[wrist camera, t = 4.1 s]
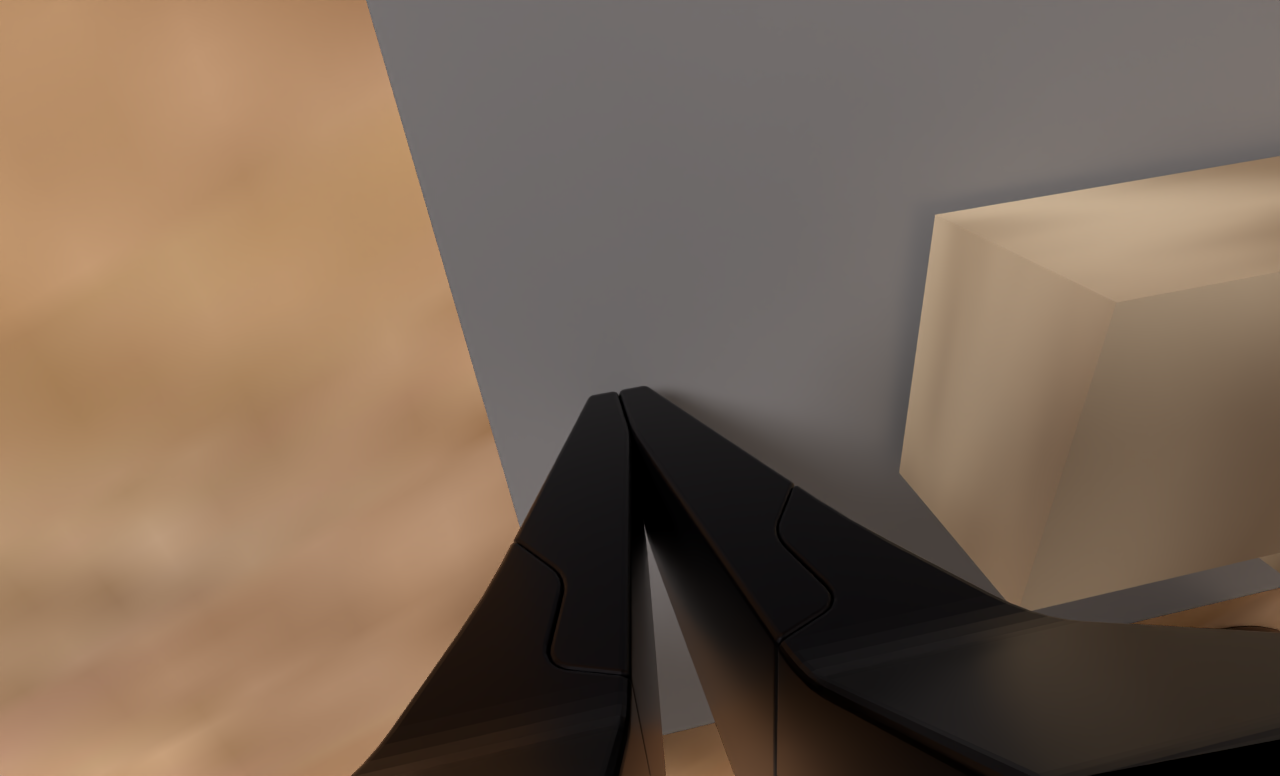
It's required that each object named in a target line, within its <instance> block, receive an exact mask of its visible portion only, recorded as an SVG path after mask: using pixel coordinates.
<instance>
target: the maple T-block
mask: <svg viewBox="0 0 1280 776" xmlns="http://www.w3.org/2000/svg"><path fill="white" fill-rule="evenodd" d="M899 473H900V474H901V476H902V477H903V478H904V479H905V480H906V482H907V483H908V484H909V485H910V486H911V488H912V489H913V490H914V491H915V492H916V494H917V495H918V496H919V497H920V498H921V500H922V501H923V502H924V503H925V504H926V505H927V507H928V508H929V509H930V510H931V511H932V513H933V514H934V515H935V516H936V517H937V519H938V520H939V521H940V522H941V523H942V525H943V526H944V527H945V528H946V529H947V531H948V532H949V533H950V534H951V535H952V537H953V538H954V539H955V540H956V541H957V543H958V544H959V545H960V546H961V547H962V548H963V550H964V551H965V552H966V553H967V554H968V556H969V557H970V558H971V559H972V560H973V562H974V563H975V564H976V565H977V566H978V568H979V569H980V570H981V571H982V572H983V574H984V575H985V576H986V577H987V578H988V580H989V581H990V582H991V583H992V584H993V586H994V587H995V588H996V589H997V590H998V592H999V593H1000V594H1001V595H1002V596H1003V597H1004V599H1005V600H1006V601H1008V602H1010V603H1012V604H1015V605H1018V606H1020V607H1023V608H1025V609H1028V610H1031V611H1033V610H1037V609H1041V608H1046V607H1050V606H1054V605H1059V604H1063V603H1067V602H1071V601H1076V600H1080V599H1084V598H1089V597H1093V596H1097V595H1101V594H1106V593H1110V592H1114V591H1118V590H1123V589H1127V588H1131V587H1136V586H1140V585H1144V584H1148V583H1153V582H1157V581H1161V580H1166V579H1170V578H1174V577H1178V576H1183V575H1187V574H1191V573H1196V572H1200V571H1204V570H1208V569H1213V568H1217V567H1221V566H1226V565H1230V564H1234V563H1238V562H1243V561H1247V560H1251V559H1255V558H1260V559H1261V560H1263V561H1264V562H1265V563H1267V564H1268V565H1269V566H1271V567H1272V568H1273V569H1275V570H1276V571H1278V572H1279V573H1280V156H1277V157H1271V158H1265V159H1259V160H1253V161H1248V162H1242V163H1236V164H1230V165H1224V166H1218V167H1212V168H1206V169H1201V170H1195V171H1189V172H1183V173H1177V174H1171V175H1165V176H1160V177H1154V178H1148V179H1142V180H1136V181H1130V182H1124V183H1119V184H1113V185H1107V186H1101V187H1095V188H1089V189H1083V190H1077V191H1072V192H1066V193H1060V194H1054V195H1048V196H1042V197H1036V198H1031V199H1025V200H1019V201H1013V202H1007V203H1001V204H995V205H989V206H984V207H978V208H972V209H966V210H960V211H954V212H948V213H943V214H937V215H935V219H934V227H933V234H932V241H931V248H930V255H929V262H928V269H927V277H926V284H925V291H924V298H923V305H922V312H921V320H920V327H919V334H918V341H917V348H916V355H915V362H914V370H913V377H912V384H911V391H910V398H909V405H908V413H907V420H906V427H905V434H904V441H903V448H902V456H901V463H900V470H899Z"/></svg>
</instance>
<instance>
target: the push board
mask: <svg viewBox="0 0 1280 776" xmlns="http://www.w3.org/2000/svg"><path fill="white" fill-rule="evenodd" d="M366 1H367V5H368V8H369V11H370V15H371V18H372V22H373V25H374V29H375V32H376V35H377V39H378V42H379V46H380V49H381V53H382V56H383V59H384V63H385V66H386V70H387V73H388V77H389V80H390V83H391V87H392V90H393V94H394V97H395V101H396V104H397V107H398V111H399V114H400V118H401V121H402V124H403V128H404V131H405V135H406V138H407V142H408V145H409V148H410V152H411V155H412V159H413V162H414V166H415V169H416V172H417V176H418V179H419V183H420V186H421V190H422V193H423V196H424V200H425V203H426V207H427V210H428V214H429V217H430V220H431V224H432V227H433V231H434V234H435V238H436V241H437V244H438V248H439V251H440V255H441V258H442V261H443V265H444V268H445V272H446V275H447V279H448V282H449V285H450V289H451V292H452V296H453V299H454V303H455V306H456V309H457V313H458V316H459V320H460V323H461V327H462V330H463V333H464V337H465V340H466V344H467V347H468V351H469V354H470V357H471V361H472V364H473V368H474V371H475V375H476V378H477V381H478V385H479V388H480V392H481V395H482V398H483V402H484V405H485V409H486V412H487V416H488V419H489V422H490V426H491V429H492V433H493V436H494V440H495V443H496V446H497V450H498V453H499V457H500V460H501V464H502V467H503V470H504V474H505V477H506V481H507V484H508V488H509V491H510V494H511V498H512V501H513V505H514V508H515V512H516V515H517V518H518V522H519V525H520V527H521V526H522V524H523V522H524V520H525V518H526V516H527V514H528V512H529V510H530V508H531V507H532V505H533V503H534V501H535V499H536V497H537V495H538V493H539V491H540V489H541V487H542V486H543V484H544V482H545V480H546V478H547V476H548V474H549V472H550V470H551V468H552V466H553V465H554V463H555V461H556V459H557V457H558V455H559V453H560V451H561V449H562V447H563V445H564V444H565V442H566V440H567V438H568V436H569V434H570V432H571V430H572V428H573V426H574V425H575V423H576V421H577V419H578V417H579V415H580V413H581V411H582V409H583V407H584V405H585V404H586V402H587V400H588V398H589V397H590V396H592V395H596V394H601V393H607V392H612V391H614V392H617V393H618V395H619V393H620V391H621V390H623V389H628V388H634V387H639V386H648V387H650V388H651V389H653V390H654V391H656V392H657V393H659V394H660V395H662V396H663V397H665V398H666V399H668V400H669V401H671V402H672V403H674V404H675V405H677V406H678V407H680V408H681V409H683V410H684V411H686V412H687V413H689V414H690V415H692V416H693V417H695V418H696V419H698V420H699V421H701V422H702V423H704V424H706V425H707V426H709V427H710V428H712V429H713V430H715V431H716V432H718V433H719V434H721V435H722V436H724V437H725V438H727V439H728V440H730V441H731V442H733V443H734V444H736V445H737V446H739V447H740V448H742V449H743V450H745V451H746V452H748V453H749V454H751V455H752V456H754V457H755V458H757V459H758V460H760V461H761V462H763V463H764V464H766V465H767V466H769V467H770V468H772V469H773V470H775V471H776V472H778V473H779V474H781V475H783V476H784V477H786V478H787V479H789V480H790V481H792V482H793V483H794V485H795V486H800V487H801V488H803V489H804V490H806V491H807V492H809V493H810V494H812V495H813V496H815V497H816V498H818V499H819V500H821V501H822V502H824V503H826V504H827V505H829V506H831V507H832V508H834V509H835V510H837V511H839V512H840V513H842V514H843V515H845V516H847V517H848V518H850V519H852V520H853V521H855V522H857V523H859V524H861V525H862V526H864V527H866V528H868V529H870V530H871V531H873V532H875V533H877V534H879V535H881V536H882V537H884V538H886V539H888V540H890V541H891V542H893V543H895V544H897V545H899V546H901V547H903V548H905V549H907V550H909V551H911V552H913V553H914V554H916V555H918V556H920V557H922V558H924V559H926V560H928V561H930V562H932V563H934V564H935V565H937V566H939V567H941V568H943V569H945V570H947V571H949V572H951V573H953V574H955V575H957V576H958V577H960V578H962V579H964V580H966V581H968V582H970V583H972V584H974V585H976V586H978V587H980V588H981V589H983V590H985V591H987V592H989V593H991V594H993V595H995V596H997V597H999V598H1002V599H1004V597H1003V596H1002V595H1001V594H1000V593H999V592H998V590H997V589H996V588H995V587H994V586H993V584H992V583H991V582H990V581H989V580H988V578H987V577H986V576H985V575H984V574H983V572H982V571H981V570H980V569H979V568H978V566H977V565H976V564H975V563H974V562H973V560H972V559H971V558H970V557H969V556H968V554H967V553H966V552H965V551H964V550H963V548H962V547H961V546H960V545H959V544H958V543H957V541H956V540H955V539H954V538H953V537H952V535H951V534H950V533H949V532H948V531H947V529H946V528H945V527H944V526H943V525H942V523H941V522H940V521H939V520H938V519H937V517H936V516H935V515H934V514H933V513H932V511H931V510H930V509H929V508H928V507H927V505H926V504H925V503H924V502H923V501H922V500H921V498H920V497H919V496H918V495H917V494H916V492H915V491H914V490H913V489H912V488H911V486H910V485H909V484H908V483H907V482H906V480H905V479H904V478H903V477H902V476H901V474H900V473H899V470H900V463H901V456H902V448H903V441H904V434H905V427H906V420H907V413H908V405H909V398H910V391H911V384H912V377H913V370H914V362H915V355H916V348H917V341H918V334H919V327H920V320H921V312H922V305H923V298H924V291H925V284H926V277H927V269H928V262H929V255H930V248H931V241H932V234H933V227H934V219H935V215H937V214H943V213H948V212H954V211H960V210H966V209H972V208H978V207H984V206H989V205H995V204H1001V203H1007V202H1013V201H1019V200H1025V199H1031V198H1036V197H1042V196H1048V195H1054V194H1060V193H1066V192H1072V191H1077V190H1083V189H1089V188H1095V187H1101V186H1107V185H1113V184H1119V183H1124V182H1130V181H1136V180H1142V179H1148V178H1154V177H1160V176H1165V175H1171V174H1177V173H1183V172H1189V171H1195V170H1201V169H1206V168H1212V167H1218V166H1224V165H1230V164H1236V163H1242V162H1248V161H1253V160H1259V159H1265V158H1271V157H1277V156H1280V0H366ZM644 528H645V527H644ZM645 535H646V531H645ZM646 542H647V551H648V562H649V575H650V587H651V599H652V612H653V624H654V636H655V649H656V661H657V674H658V686H659V698H660V711H661V723H662V735H666V734H670V733H674V732H678V731H682V730H687V729H691V728H695V727H699V726H703V725H708V724H712V723H715V721H714V718H713V715H712V713H711V710H710V707H709V705H708V702H707V699H706V696H705V694H704V691H703V688H702V686H701V683H700V680H699V678H698V675H697V672H696V669H695V667H694V664H693V661H692V659H691V656H690V653H689V650H688V648H687V645H686V642H685V640H684V637H683V634H682V632H681V629H680V626H679V623H678V621H677V618H676V615H675V613H674V610H673V607H672V605H671V602H670V599H669V596H668V594H667V591H666V588H665V586H664V583H663V580H662V578H661V575H660V572H659V569H658V567H657V564H656V561H655V559H654V556H653V553H652V550H651V547H650V544H649V541H648V538H647V535H646ZM1276 588H1280V573H1279V572H1278V571H1276V570H1275V569H1273V568H1272V567H1271V566H1269V565H1268V564H1267V563H1265V562H1264V561H1263V560H1261V559H1260V558H1255V559H1251V560H1247V561H1243V562H1238V563H1234V564H1230V565H1226V566H1221V567H1217V568H1213V569H1208V570H1204V571H1200V572H1196V573H1191V574H1187V575H1183V576H1178V577H1174V578H1170V579H1166V580H1161V581H1157V582H1153V583H1148V584H1144V585H1140V586H1136V587H1131V588H1127V589H1123V590H1118V591H1114V592H1110V593H1106V594H1101V595H1097V596H1093V597H1089V598H1084V599H1080V600H1076V601H1071V602H1067V603H1063V604H1059V605H1054V606H1050V607H1046V608H1041V609H1037V610H1033V611H1034V612H1037V613H1041V614H1044V615H1048V616H1052V617H1058V618H1063V619H1069V620H1078V621H1091V622H1107V623H1124V624H1130V623H1134V622H1138V621H1143V620H1147V619H1151V618H1155V617H1159V616H1163V615H1168V614H1172V613H1176V612H1180V611H1184V610H1189V609H1193V608H1197V607H1201V606H1205V605H1209V604H1214V603H1218V602H1222V601H1226V600H1230V599H1235V598H1239V597H1243V596H1247V595H1251V594H1255V593H1260V592H1264V591H1268V590H1272V589H1276ZM1004 600H1005V599H1004Z"/></svg>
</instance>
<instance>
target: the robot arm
mask: <svg viewBox="0 0 1280 776" xmlns="http://www.w3.org/2000/svg"><path fill="white" fill-rule="evenodd" d="M644 527H645V528H644ZM645 531H646V535H647V538H648V541H649V544H650V547H651V550H652V553H653V556H654V559H655V561H656V564H657V567H658V569H659V572H660V575H661V578H662V580H663V583H664V586H665V588H666V591H667V594H668V596H669V599H670V602H671V605H672V607H673V610H674V613H675V615H676V618H677V621H678V623H679V626H680V629H681V632H682V634H683V637H684V640H685V642H686V645H687V648H688V650H689V653H690V656H691V659H692V661H693V664H694V667H695V669H696V672H697V675H698V678H699V680H700V683H701V686H702V688H703V691H704V694H705V696H706V699H707V702H708V705H709V707H710V710H711V713H712V715H713V718H714V721H715V723H716V726H717V729H718V732H719V734H720V737H721V740H722V742H723V745H724V748H725V750H726V753H727V756H728V759H729V761H730V764H731V767H732V769H733V772H734V775H735V776H1280V633H1276V632H1260V631H1243V630H1226V629H1209V628H1192V627H1175V626H1158V625H1141V624H1124V623H1107V622H1091V621H1078V620H1069V619H1063V618H1058V617H1052V616H1048V615H1044V614H1041V613H1037V612H1034V611H1031V610H1028V609H1025V608H1023V607H1020V606H1018V605H1015V604H1012V603H1010V602H1008V601H1006V600H1004V599H1002V598H999V597H997V596H995V595H993V594H991V593H989V592H987V591H985V590H983V589H981V588H980V587H978V586H976V585H974V584H972V583H970V582H968V581H966V580H964V579H962V578H960V577H958V576H957V575H955V574H953V573H951V572H949V571H947V570H945V569H943V568H941V567H939V566H937V565H935V564H934V563H932V562H930V561H928V560H926V559H924V558H922V557H920V556H918V555H916V554H914V553H913V552H911V551H909V550H907V549H905V548H903V547H901V546H899V545H897V544H895V543H893V542H891V541H890V540H888V539H886V538H884V537H882V536H881V535H879V534H877V533H875V532H873V531H871V530H870V529H868V528H866V527H864V526H862V525H861V524H859V523H857V522H855V521H853V520H852V519H850V518H848V517H847V516H845V515H843V514H842V513H840V512H839V511H837V510H835V509H834V508H832V507H831V506H829V505H827V504H826V503H824V502H822V501H821V500H819V499H818V498H816V497H815V496H813V495H812V494H810V493H809V492H807V491H806V490H804V489H803V488H801V487H800V486H795V485H794V483H793V482H792V481H790V480H789V479H787V478H786V477H784V476H783V475H781V474H779V473H778V472H776V471H775V470H773V469H772V468H770V467H769V466H767V465H766V464H764V463H763V462H761V461H760V460H758V459H757V458H755V457H754V456H752V455H751V454H749V453H748V452H746V451H745V450H743V449H742V448H740V447H739V446H737V445H736V444H734V443H733V442H731V441H730V440H728V439H727V438H725V437H724V436H722V435H721V434H719V433H718V432H716V431H715V430H713V429H712V428H710V427H709V426H707V425H706V424H704V423H702V422H701V421H699V420H698V419H696V418H695V417H693V416H692V415H690V414H689V413H687V412H686V411H684V410H683V409H681V408H680V407H678V406H677V405H675V404H674V403H672V402H671V401H669V400H668V399H666V398H665V397H663V396H662V395H660V394H659V393H657V392H656V391H654V390H653V389H651V388H650V387H648V386H639V387H634V388H628V389H623V390H621V391H620V393H619V395H618V393H617V392H614V391H612V392H607V393H601V394H596V395H592V396H590V397H589V398H588V400H587V402H586V404H585V405H584V407H583V409H582V411H581V413H580V415H579V417H578V419H577V421H576V423H575V425H574V426H573V428H572V430H571V432H570V434H569V436H568V438H567V440H566V442H565V444H564V445H563V447H562V449H561V451H560V453H559V455H558V457H557V459H556V461H555V463H554V465H553V466H552V468H551V470H550V472H549V474H548V476H547V478H546V480H545V482H544V484H543V486H542V487H541V489H540V491H539V493H538V495H537V497H536V499H535V501H534V503H533V505H532V507H531V508H530V510H529V512H528V514H527V516H526V518H525V520H524V522H523V524H522V526H521V527H520V529H519V531H518V533H517V535H516V537H515V539H514V543H513V544H511V546H510V548H509V550H508V552H507V554H506V556H505V557H504V559H503V561H502V563H501V565H500V567H499V569H498V570H497V572H496V574H495V576H494V577H493V579H492V581H491V583H490V584H489V586H488V588H487V590H486V591H485V593H484V595H483V597H482V598H481V600H480V601H479V603H478V604H477V606H476V607H475V609H474V610H473V612H472V613H471V615H470V616H469V618H468V619H467V621H466V622H465V624H464V625H463V627H462V628H461V630H460V632H459V633H458V635H457V636H456V637H455V639H454V640H453V642H452V643H451V645H450V646H449V647H448V649H447V650H446V652H445V653H444V655H443V656H442V657H441V659H440V660H439V662H438V663H437V665H436V666H435V667H434V669H433V670H432V672H431V673H430V675H429V676H428V677H427V679H426V680H425V682H424V683H423V685H422V686H421V687H420V689H419V690H418V692H417V693H416V695H415V696H414V698H413V699H412V700H411V702H410V703H409V705H408V706H407V708H406V709H405V710H404V712H403V713H402V715H401V716H400V718H399V719H398V720H397V722H396V723H395V725H394V726H393V728H392V729H391V730H390V732H389V733H388V734H387V736H386V737H385V738H384V740H383V741H382V742H381V744H380V745H379V746H378V747H377V749H376V750H375V751H374V752H373V753H372V754H371V755H370V757H369V758H368V759H367V760H366V761H365V762H364V764H363V765H361V766H360V767H359V768H358V769H357V770H356V771H355V772H354V773H353V774H352V775H351V776H666V772H665V760H664V748H663V735H662V723H661V711H660V698H659V686H658V674H657V661H656V649H655V636H654V624H653V612H652V599H651V587H650V575H649V562H648V551H647V542H646V535H645Z"/></svg>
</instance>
